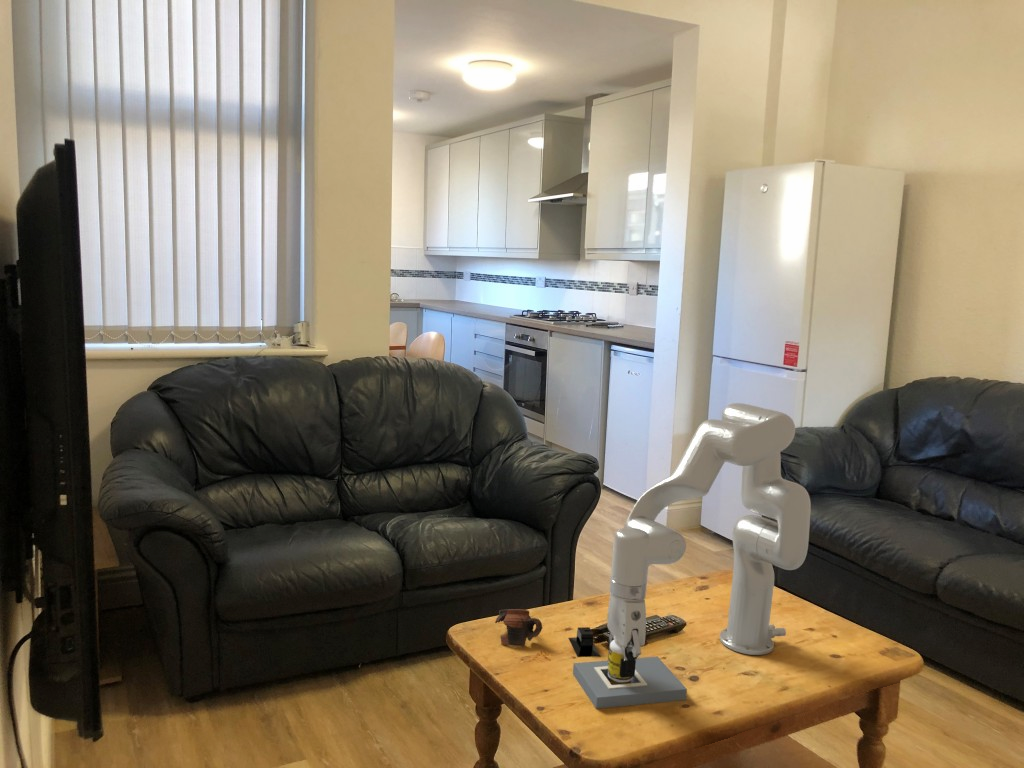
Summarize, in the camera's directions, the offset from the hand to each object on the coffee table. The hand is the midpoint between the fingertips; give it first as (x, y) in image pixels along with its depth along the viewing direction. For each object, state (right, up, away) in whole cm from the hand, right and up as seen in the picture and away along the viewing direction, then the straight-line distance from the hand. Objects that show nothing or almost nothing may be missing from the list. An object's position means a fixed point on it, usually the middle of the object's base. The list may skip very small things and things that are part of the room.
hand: (621, 668), depth 169 cm
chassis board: (+2, -4, +1) cm, 5 cm away
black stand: (-6, -2, +18) cm, 19 cm away
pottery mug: (-22, 0, +20) cm, 30 cm away
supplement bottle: (0, -2, 0) cm, 2 cm away
